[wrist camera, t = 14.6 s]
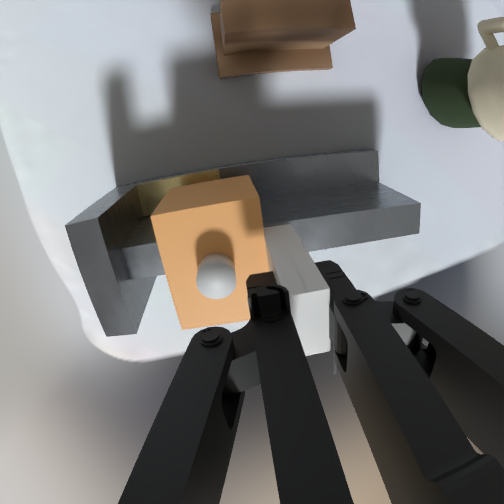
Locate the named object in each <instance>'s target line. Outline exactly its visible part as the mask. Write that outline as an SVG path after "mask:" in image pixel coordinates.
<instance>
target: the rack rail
mask: <svg viewBox="0 0 504 504" xmlns="http://www.w3.org/2000/svg"><path fill="white" fill-rule="evenodd" d="M244 175H249V177H250V179H251V181H252V183H253V185H254V187H255V189H256V191H257V193H258V195H259V198H260V205H261V213H262V220H263V228H267V227H273V226H279V225H286V224H291V226H292V227H293V229H294V230H295V232H296V234H297V235H298V237H299V238H300V240H301V242H302V243H303V245H304V247H305V248H306V250H307V251H308V252H310V251H316V250H322V249H328V248H334V247H340V246H346V245H352V244H358V243H364V242H370V241H376V240H382V239H388V238H394V237H400V236H406V235H412V234H418V233H419V227H420V206H421V203H419V202H417V201H415V200H413V199H411V198H409V197H407V196H405V195H403V194H401V193H399V192H397V191H395V190H393V189H391V188H389V187H387V186H385V185H383V184H381V183H379V166H378V151H375V150H360V151H346V152H334V153H323V154H313V155H304V156H294V157H286V158H278V159H270V160H262V161H255V162H248V163H241V164H235V165H228V166H222V167H216V168H210V169H204V170H198V171H193V172H187V173H182V174H176V175H171V176H166V177H161V178H156V179H152V180H147V181H142V182H138V183H133V184H129V185H124V186H120V187H116V188H115V189H113V190H112V191H110V192H109V193H108V194H106V195H105V196H103V197H102V198H101V199H99V200H98V201H96V202H95V203H94V204H92V205H91V206H90V207H88V208H87V209H86V210H84V211H83V212H82V213H80V214H79V215H78V216H76V217H75V218H74V219H73V220H71V221H70V222H69V223H67V224H66V225H65V227H66V231H67V234H68V237H69V240H70V243H71V246H72V249H73V252H74V255H75V258H76V261H77V264H78V267H79V270H80V273H81V275H82V278H83V281H84V283H85V286H86V289H87V291H88V294H89V296H90V299H91V301H92V304H93V306H94V309H95V311H96V313H97V316H98V318H99V320H100V323H101V325H102V327H103V330H104V332H105V334H106V336H119V335H129V334H137V331H138V328H139V325H140V322H141V319H142V316H143V313H144V310H145V307H146V305H147V302H148V299H149V296H150V293H151V290H152V288H153V285H154V282H155V279H156V277H157V276H158V275H164V274H165V271H164V267H163V263H162V260H161V256H160V252H159V249H158V245H157V241H156V237H155V233H154V229H153V225H152V221H151V217H150V216H151V214H152V213H153V211H154V210H155V209H156V207H157V206H158V204H159V203H160V202H161V200H162V199H163V197H164V196H165V195H166V193H167V192H168V191H169V189H170V188H175V187H180V186H185V185H190V184H196V183H201V182H207V181H213V180H219V179H225V178H231V177H237V176H244Z"/></svg>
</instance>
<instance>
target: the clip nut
mask: <svg viewBox="0 0 504 504" xmlns="http://www.w3.org/2000/svg"><path fill="white" fill-rule="evenodd" d="M150 217H151V221H152V225H153V229H154V233H155V237H156V241H157V245H158V249H159V252H160V256H161V260H162V263H163V267H164V271H165V274H166V278H167V281H168V285H169V288H170V292H171V295H172V298H173V302H174V305H175V308H176V312H177V315H178V318H179V321H180V324H181V327H182V330H184V329H192V328H199V327H206V326H213V325H220V324H227V323H233V322H240V321H246V320H250V311H249V306H248V300H247V297H248V294H247V287H246V280H247V278H248V277H249V275H251V274H257V273H263V272H269V269H268V261H267V253H266V246H265V238H264V236H265V235H264V228H263V220H262V213H261V205H260V198H259V195H258V193H257V191H256V189H255V187H254V185H253V183H252V181H251V179H250V177H249V175H244V176H237V177H231V178H225V179H219V180H213V181H207V182H201V183H196V184H190V185H185V186H180V187H175V188H170V189H169V191H168V192H167V193H166V195H165V196H164V197H163V199H162V200H161V202H160V203H159V204H158V206H157V207H156V209H155V210H154V211H153V213H152V214H151V216H150Z"/></svg>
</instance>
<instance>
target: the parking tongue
mask: <svg viewBox="0 0 504 504" xmlns="http://www.w3.org/2000/svg"><path fill="white" fill-rule="evenodd" d="M211 22H212V29H213V36H214V43H215V50H216V57H217V64H218V70H219V77H220V78H227V77H235V76H242V75H251V74H260V73H271V72H284V71H300V70H328V69H331V68H333V67H332V60H331V53H330V47H329V45H330V44H332V43H333V42H335V41H336V40H338V39H340V38H341V37H343V36H345V35H346V34H348V33H350V32H351V31H353V30H355V29H356V28H355V23H354V18H353V13H352V8H351V3H350V0H223V1H220V12H219V13H211Z"/></svg>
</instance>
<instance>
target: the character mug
mask: <svg viewBox="0 0 504 504" xmlns="http://www.w3.org/2000/svg"><path fill="white" fill-rule="evenodd" d="M477 27H478V30H479V33H480V35H481V37H482V39H483V41H484V43H485V45H486V47H487V48H484V49H483V50H482V51H481V52H480V53H479V54H478V55H477V56H476V57H475V58H474V59H473V60H472V59H462V58H442V59H436V60H433V61H432V62H431V63H430V65H429V66H428V67H427V68H426V69H425V72H424V76H423V79H422V83H421V85H422V96H423V101H424V103H425V105H426V107H427V109H428V111H429V113H430V115H431V116H432V117H434V118H435V119H436V120H437V121H438V122H439V123H440V124H441V125H445V126H449V127H452V128H472V127H482V129H484V130H485V131H486V132H487V133H488V134H489V135H491V136H492V137H493V138H495V139H497V140H499V141H503V142H504V45H503V46H499V45H498V43H497V40H496V38H495V36H494V34H493V33H499V32H504V17H499V18H493V19H488V20H483V21H480V22H479V23H478V26H477Z"/></svg>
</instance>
